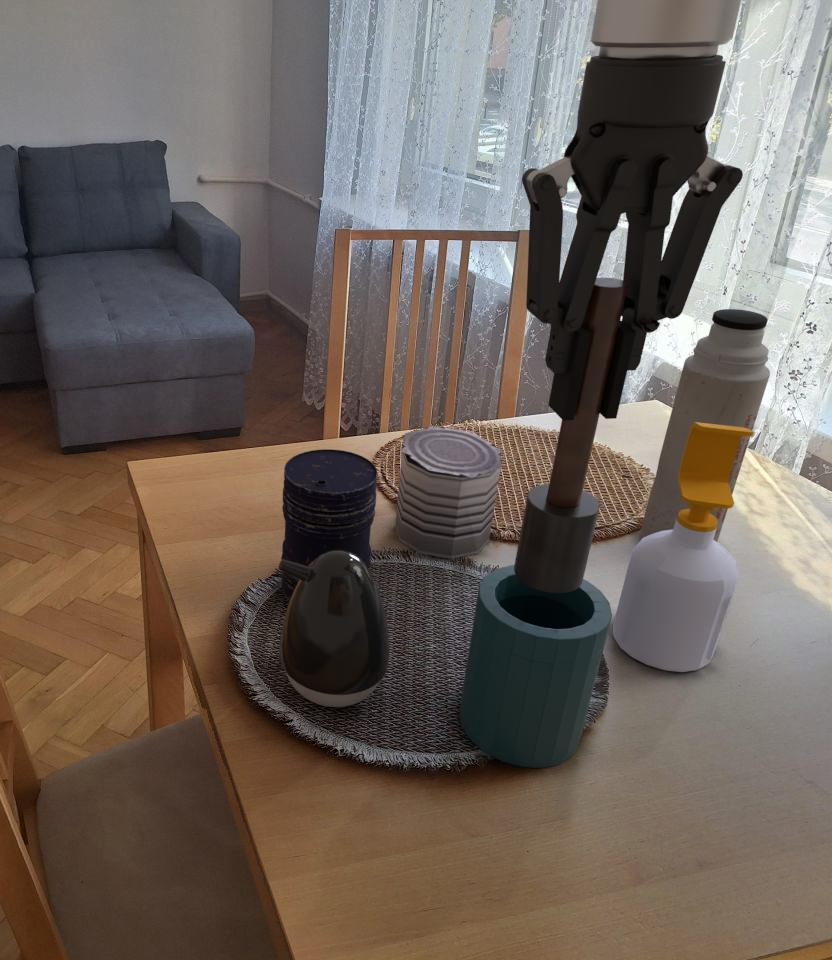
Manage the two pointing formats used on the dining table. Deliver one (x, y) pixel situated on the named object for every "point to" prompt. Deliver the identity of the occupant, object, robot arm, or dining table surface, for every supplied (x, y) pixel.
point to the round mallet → (572, 465)
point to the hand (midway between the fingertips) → (581, 411)
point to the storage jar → (327, 507)
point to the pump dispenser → (334, 630)
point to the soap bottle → (684, 565)
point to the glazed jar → (532, 669)
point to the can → (446, 492)
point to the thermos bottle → (711, 406)
